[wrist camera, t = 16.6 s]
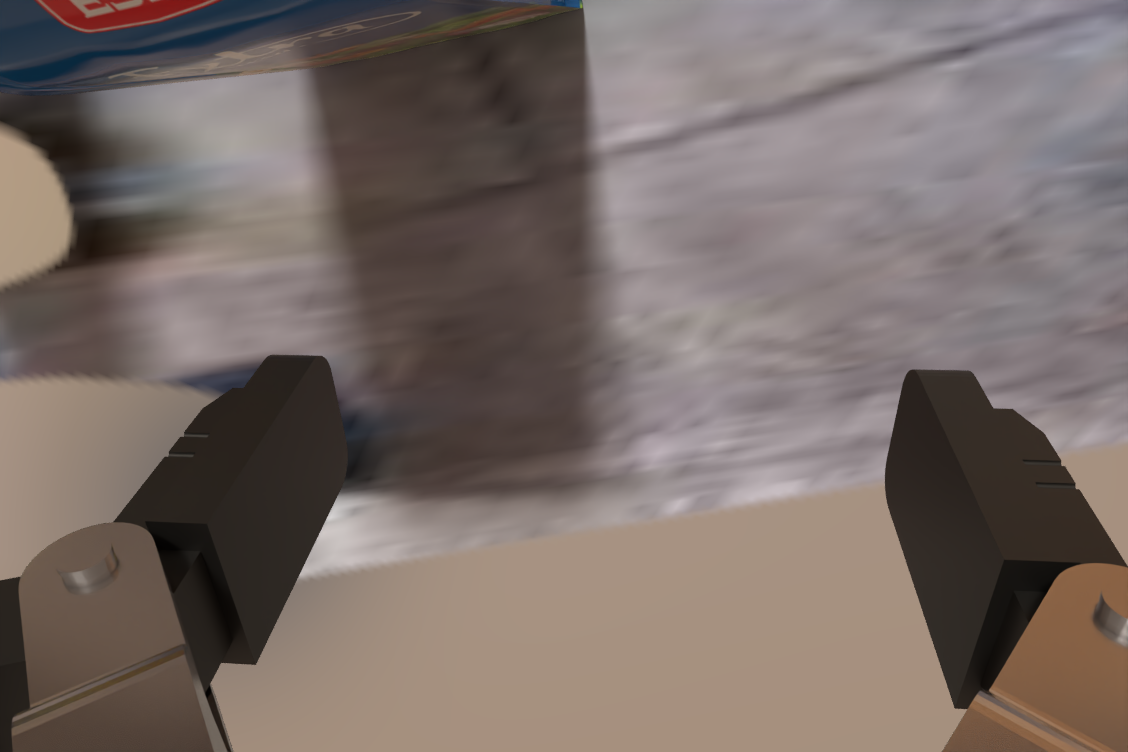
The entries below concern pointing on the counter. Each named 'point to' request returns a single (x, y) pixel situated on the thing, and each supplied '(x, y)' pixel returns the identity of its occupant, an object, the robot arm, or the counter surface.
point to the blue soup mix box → (225, 37)
